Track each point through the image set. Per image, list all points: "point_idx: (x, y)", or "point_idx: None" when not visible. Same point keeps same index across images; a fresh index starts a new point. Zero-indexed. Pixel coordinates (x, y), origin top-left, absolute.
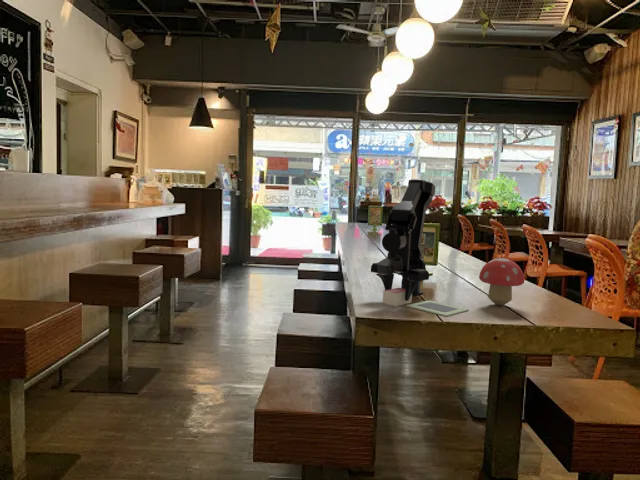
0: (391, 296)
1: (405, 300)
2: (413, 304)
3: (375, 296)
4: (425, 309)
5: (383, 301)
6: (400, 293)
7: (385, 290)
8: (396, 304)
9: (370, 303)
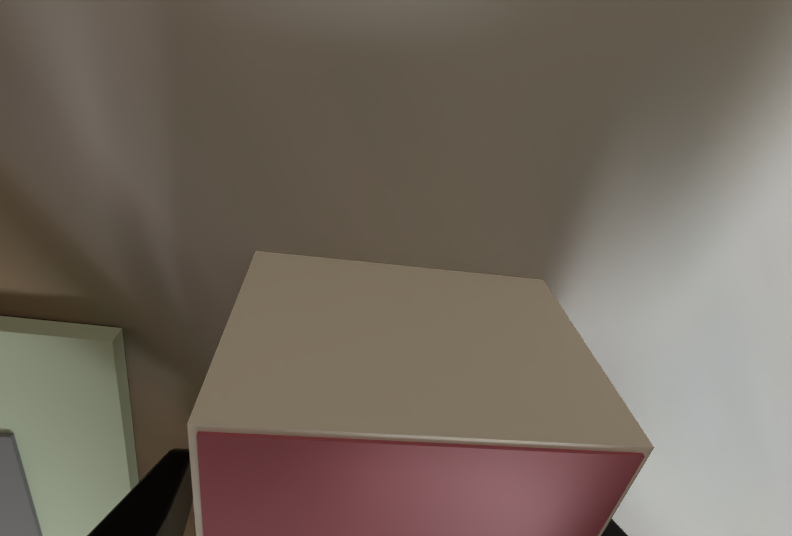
0: (376, 356)
1: (186, 450)
2: (85, 442)
3: (737, 474)
4: None
5: (536, 290)
6: (201, 515)
7: (605, 479)
8: (251, 266)
9: (722, 54)
